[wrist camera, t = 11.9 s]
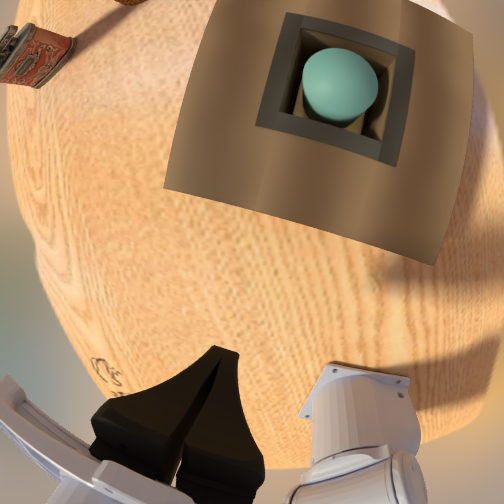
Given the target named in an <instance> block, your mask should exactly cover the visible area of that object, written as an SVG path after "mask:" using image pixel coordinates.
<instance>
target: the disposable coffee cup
mask: <svg viewBox="0 0 504 504" xmlns="http://www.w3.org/2000/svg"><path fill="white" fill-rule="evenodd" d="M115 1H117V2H119V3H121V4H123V5H127V6H128V5H136V4H138V3H141V2H144V1H146V0H115Z"/></svg>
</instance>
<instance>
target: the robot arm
mask: <svg viewBox="0 0 504 504" xmlns="http://www.w3.org/2000/svg"><path fill="white" fill-rule="evenodd" d="M239 356H240V355H239V354H238V353H237V352H234V351H231V350H228V349H224V348H221V347H218V346H215V345H214V346H212V347H211V348H210V349H209V350H208V351H207V352H206V353H205V354H204V355H203V356H201V357H200V358H199V359H198V360H197V361H195V362H194V363H193V364H192V365H190V366H189V367H188V368H186V369H185V370H183V371H182V372H180V373H179V374H177V375H176V376H174V377H172V378H171V379H169V380H167V381H165V382H163V383H161V384H159V385H156V386H154V387H152V388H149V389H147V390H144V391H141V392H137V393H134V394H131V395H127V396H122V397H117V398H111V399H109V400H107V401H106V402H105V403H104V404H103V405H102V406H101V407H100V408H99V409H98V410H97V412H96V413H95V414H94V415H93V417H92V418H91V424H92V427H93V430H94V433H95V435H96V439H95V441H94V442H93V443H92V445H91V446H90V445H89V444H87V443H85V442H84V441H82V440H81V439H79V438H78V437H76V436H75V435H73V434H72V433H70V432H69V431H68V430H66V429H65V428H63V427H62V426H60V425H59V424H58V423H57V422H55V421H54V420H53V419H51V418H50V417H49V416H48V415H46V414H45V413H44V412H43V411H41V410H40V409H39V408H38V407H36V406H35V405H34V404H33V403H32V402H31V401H30V400H28V399H27V397H26V394H25V392H24V390H23V389H22V388H21V386H20V385H19V384H18V383H17V382H16V381H14V379H12V378H11V377H10V376H9V375H6V376H5V377H4V378H3V379H2V380H1V381H0V428H1V429H2V430H3V432H4V433H5V434H6V435H7V436H8V437H9V438H10V439H11V440H12V441H13V442H14V443H15V444H16V445H17V446H18V447H19V448H21V450H22V451H23V452H24V453H25V454H26V455H27V456H29V457H30V458H31V459H32V460H33V461H34V462H35V463H36V464H38V466H40V467H41V468H42V469H43V470H44V471H45V472H47V473H48V474H49V475H50V476H51V477H53V478H54V479H55V480H57V481H58V482H59V483H60V484H59V485H58V487H57V488H56V489H55V491H54V492H53V494H52V495H51V496H50V498H49V499H48V501H47V502H46V503H45V504H252V503H253V499H254V498H255V495H256V491H257V490H258V488H259V487H260V486H261V485H262V484H263V482H264V480H265V466H264V459H263V455H262V453H261V452H260V450H259V448H258V447H257V445H256V443H255V441H254V439H253V437H252V434H251V432H250V429H249V427H248V424H247V422H246V419H245V416H244V412H243V409H242V405H241V400H240V394H239V387H238V359H239ZM333 369H337V370H333ZM398 380H399V381H398ZM410 382H411V380H410V378H409V377H403V376H397V375H390V374H384V373H378V372H372V371H367V370H362V369H356V368H351V367H346V366H341V365H337V364H332V363H329V364H327V365H325V367H324V369H323V371H322V373H321V374H320V376H319V378H318V380H317V382H316V384H315V385H314V387H313V389H312V391H311V393H310V394H309V396H308V398H307V400H306V401H305V403H304V405H303V406H302V408H301V410H300V411H299V415H298V416H299V417H300V418H304V419H309V420H312V434H311V456H310V470H309V471H308V472H305V473H302V474H301V483H300V485H297V486H294V487H293V488H291V489H290V490H289V491H288V493H287V494H286V496H285V498H284V501H283V503H282V504H428V498H427V490H426V485H425V481H424V478H423V474H422V471H421V469H420V466H419V464H418V462H417V460H416V458H415V456H416V454H417V452H418V449H419V446H420V440H421V429H420V425H419V421H418V418H417V415H416V412H415V409H414V406H413V403H412V401H411V398H410V395H409V392H408V389H407V387H408V385H409V384H410ZM181 458H182V459H181ZM180 461H181V465H180V467H179V469H178V471H177V468H178V466H179V463H180ZM176 471H177V474H176V487H172V486H171V484H172V481H173V478H174V476H175V473H176Z"/></svg>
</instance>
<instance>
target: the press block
mask: <svg viewBox="0 0 504 504" xmlns="http://www.w3.org/2000/svg"><path fill="white" fill-rule="evenodd" d="M329 48H340V49H346V50H349V51H352V52H354V53H356V54H358V55H359V56H361V57H362V58H363V59H365V60H366V61H367V62H368V63H369V64H370V66H371V67H372V69H373V70H374V72H375V74H376V77H377V80H378V93H377V97H376V99H375V101H374V102H373V104H372V105H371V106H370V107H369V108H368V113H367V117H366V122H365V127H364V131H363V135H360V134H357V133H354V132H351V131H348V130H345V129H342V128H338V127H335V126H332V125H329V124H325V123H322V122H318V121H314V120H311V119H307V118H303V117H299V116H295V115H291V114H290V110H291V106H292V102H293V98H294V94H295V90H296V86H297V82H298V78H299V74H300V70H301V66H302V65H305V64H306V62H307V61H308V60H309V58H310V57H311V56H312V55H314V54H315V53H317V52H319V51H321V50H324V49H329ZM473 82H474V56H473V37H472V34H471V33H469V32H467V31H466V30H464V29H463V28H461V27H459V26H458V25H456V24H454V23H453V22H451V21H449V20H447V19H446V18H444V17H442V16H440V15H438V14H436V13H434V12H432V11H430V10H428V9H426V8H424V7H422V6H420V5H418V4H416V3H413V2H411V1H409V0H217V1H216V3H215V6H214V8H213V11H212V13H211V16H210V18H209V21H208V24H207V26H206V29H205V32H204V35H203V37H202V40H201V43H200V46H199V49H198V52H197V55H196V58H195V61H194V64H193V68H192V71H191V74H190V77H189V81H188V84H187V88H186V91H185V95H184V98H183V102H182V106H181V110H180V114H179V118H178V122H177V126H176V130H175V134H174V139H173V143H172V148H171V152H170V157H169V162H168V167H167V172H166V177H165V183H164V189H169V190H173V191H177V192H181V193H186V194H190V195H194V196H198V197H202V198H206V199H210V200H214V201H218V202H222V203H226V204H230V205H234V206H238V207H242V208H245V209H249V210H253V211H257V212H260V213H264V214H268V215H271V216H275V217H279V218H282V219H286V220H289V221H293V222H296V223H300V224H303V225H307V226H310V227H313V228H317V229H320V230H324V231H327V232H330V233H334V234H337V235H340V236H343V237H347V238H350V239H353V240H356V241H359V242H363V243H366V244H369V245H372V246H375V247H378V248H381V249H384V250H387V251H390V252H393V253H396V254H399V255H402V256H405V257H408V258H411V259H414V260H417V261H420V262H423V263H425V264H428V265H431V266H434V265H435V262H436V260H437V257H438V254H439V252H440V249H441V246H442V243H443V240H444V237H445V234H446V231H447V228H448V225H449V222H450V219H451V215H452V212H453V208H454V205H455V201H456V197H457V193H458V189H459V185H460V181H461V177H462V172H463V167H464V162H465V157H466V151H467V145H468V138H469V131H470V123H471V114H472V102H473Z"/></svg>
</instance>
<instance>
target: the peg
mask: <svg viewBox="0 0 504 504" xmlns="http://www.w3.org/2000/svg"><path fill="white" fill-rule="evenodd" d="M377 93H378V80H377V77H376V74H375V72H374V70H373V69H372V67H371V66H370V64H369V63H368V62H367V61H366V60H365V59H363V58H362V57H361V56H359V55H358V54H356V53H354V52H352V51H349V50H346V49H340V48H329V49H324V50H321V51H319V52H317V53H315V54H314V55H312V56H311V57H310V58H309V60H308V61H307V62H306V64H305V66H304V69H303V107H304V110H305V112H306V114H307V116H308V117H309V118H310V119H311V120H314V121H318V122H322V123H325V124H329V125H332V126H335V127H338V128H345V127H347V126H349V125H351V124H352V123H353V122H354V121H355V120H356V119H357V118H358V117H359V116H360V115H361V114H363V113H364V112H365V111H366V110H367V109H368V108H369V107H370V106H371V105H372V104H373V102H374V101H375V99H376V97H377Z"/></svg>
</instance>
